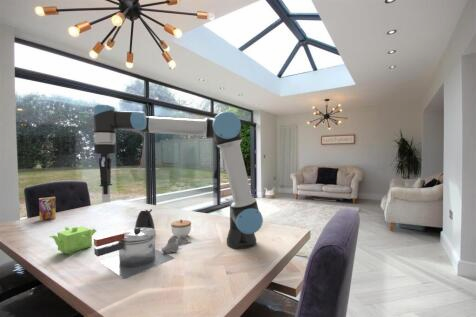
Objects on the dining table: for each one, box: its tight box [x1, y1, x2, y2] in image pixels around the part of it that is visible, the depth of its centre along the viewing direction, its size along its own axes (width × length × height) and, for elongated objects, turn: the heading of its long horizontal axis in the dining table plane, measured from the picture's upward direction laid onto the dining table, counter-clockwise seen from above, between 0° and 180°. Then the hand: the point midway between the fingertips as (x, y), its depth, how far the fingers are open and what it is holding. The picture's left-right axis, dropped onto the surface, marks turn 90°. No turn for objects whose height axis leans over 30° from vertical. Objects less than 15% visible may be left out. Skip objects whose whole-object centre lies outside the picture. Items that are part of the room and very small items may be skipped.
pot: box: [93, 235, 156, 268], centre depth 98 cm, size 23×15×10 cm, turn 141°
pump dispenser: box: [134, 208, 156, 230], centre depth 132 cm, size 10×10×15 cm
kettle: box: [48, 226, 97, 256], centre depth 114 cm, size 15×14×11 cm
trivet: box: [99, 248, 175, 280], centre depth 102 cm, size 22×22×1 cm
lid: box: [93, 227, 157, 248], centre depth 98 cm, size 23×15×3 cm, turn 138°
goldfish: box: [161, 235, 192, 254], centre depth 117 cm, size 20×10×9 cm
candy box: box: [38, 196, 57, 222], centre depth 169 cm, size 9×4×15 cm, turn 127°
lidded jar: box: [170, 219, 192, 238], centre depth 133 cm, size 11×11×9 cm
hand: (106, 201), depth 98 cm, fingers closed
